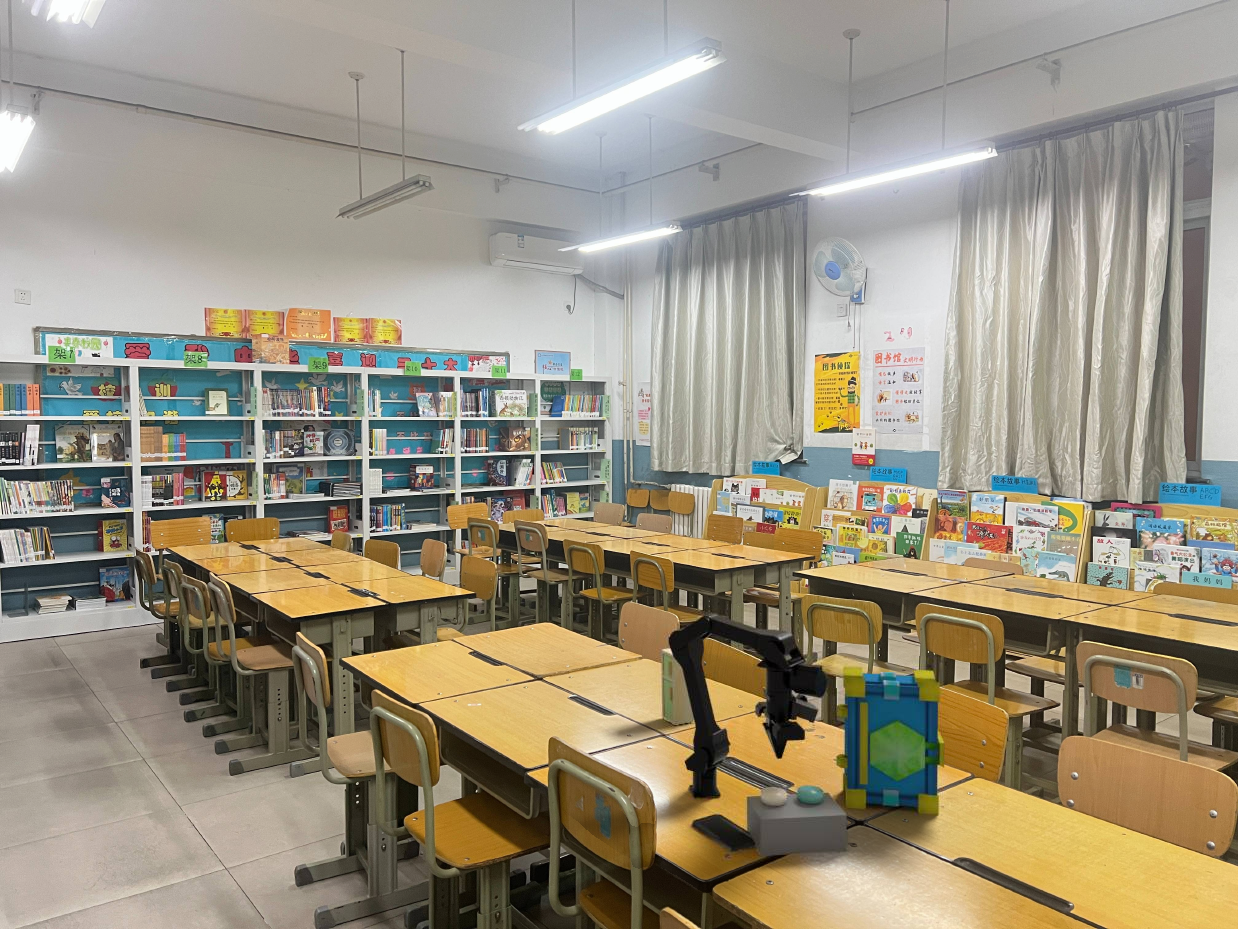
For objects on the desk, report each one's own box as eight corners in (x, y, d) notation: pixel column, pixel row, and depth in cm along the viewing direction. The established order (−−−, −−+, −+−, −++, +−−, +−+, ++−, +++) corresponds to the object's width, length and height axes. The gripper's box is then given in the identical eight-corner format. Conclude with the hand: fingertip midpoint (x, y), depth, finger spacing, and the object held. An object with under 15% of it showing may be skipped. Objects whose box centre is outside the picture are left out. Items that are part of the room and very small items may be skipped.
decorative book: (945, 819, 191) (946, 685, 189) (837, 811, 195) (838, 680, 194) (934, 793, 205) (935, 668, 203) (834, 785, 209) (835, 663, 208)
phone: (718, 813, 193) (762, 840, 180) (718, 818, 193) (762, 845, 180) (689, 821, 189) (731, 849, 176) (689, 826, 189) (731, 855, 176)
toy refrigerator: (659, 718, 258) (658, 649, 258) (680, 715, 262) (680, 646, 261) (671, 726, 251) (671, 655, 250) (693, 723, 254) (693, 652, 254)
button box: (746, 831, 186) (746, 796, 185) (827, 826, 188) (828, 792, 187) (760, 856, 175) (760, 819, 174) (846, 851, 177) (846, 815, 176)
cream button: (757, 809, 185) (757, 787, 185) (782, 808, 186) (782, 786, 186) (764, 821, 180) (764, 798, 180) (789, 819, 181) (789, 797, 180)
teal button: (793, 807, 186) (793, 786, 186) (818, 806, 187) (818, 784, 187) (801, 819, 181) (801, 796, 181) (826, 817, 181) (826, 795, 181)
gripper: (828, 700, 184) (828, 773, 184) (801, 676, 202) (801, 741, 203) (777, 702, 182) (777, 775, 183) (754, 677, 201) (754, 743, 202)
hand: (779, 758), depth 193 cm, fingers closed
